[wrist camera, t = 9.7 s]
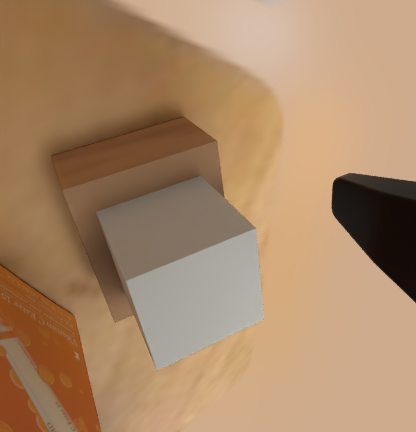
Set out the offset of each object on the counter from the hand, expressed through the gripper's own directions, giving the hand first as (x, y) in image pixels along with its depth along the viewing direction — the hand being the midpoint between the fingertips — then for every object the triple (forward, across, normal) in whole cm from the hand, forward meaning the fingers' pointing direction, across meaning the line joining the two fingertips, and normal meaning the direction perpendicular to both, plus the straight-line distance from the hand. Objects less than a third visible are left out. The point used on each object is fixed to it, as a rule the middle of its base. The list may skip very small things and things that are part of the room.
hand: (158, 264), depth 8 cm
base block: (+13, -2, +6) cm, 14 cm away
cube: (+9, -2, +6) cm, 11 cm away
